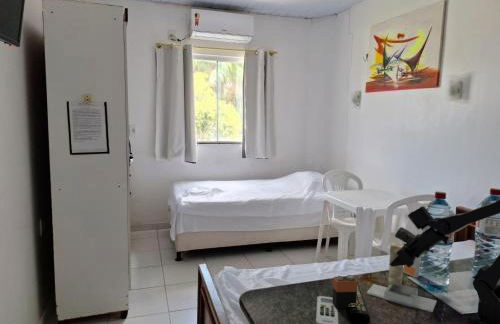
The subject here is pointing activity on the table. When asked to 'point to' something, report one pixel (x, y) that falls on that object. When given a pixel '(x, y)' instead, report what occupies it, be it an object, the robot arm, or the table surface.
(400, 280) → the ash hinge pin
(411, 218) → the robot arm
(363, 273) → the table surface
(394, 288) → the grey base plate
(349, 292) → the battery
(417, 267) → the skincare box
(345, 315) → the table surface
